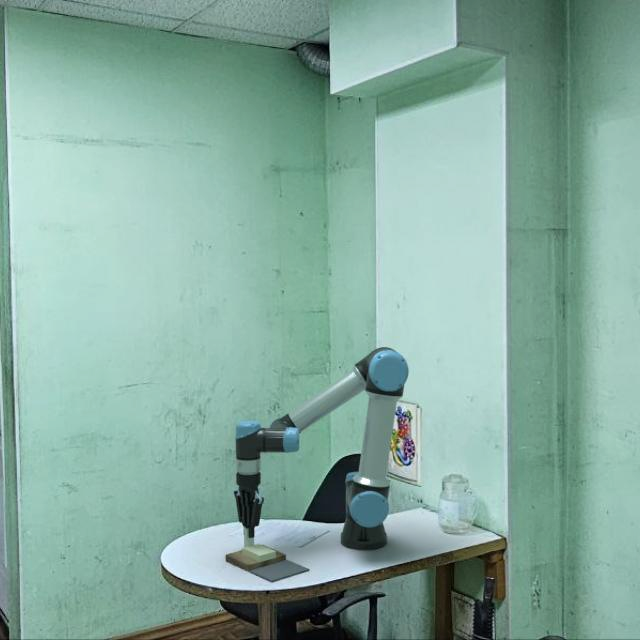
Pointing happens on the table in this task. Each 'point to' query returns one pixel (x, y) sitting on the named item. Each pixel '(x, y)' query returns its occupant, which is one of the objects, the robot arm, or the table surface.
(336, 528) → the table surface
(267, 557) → the tile
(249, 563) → the wooden board
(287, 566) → the mat
